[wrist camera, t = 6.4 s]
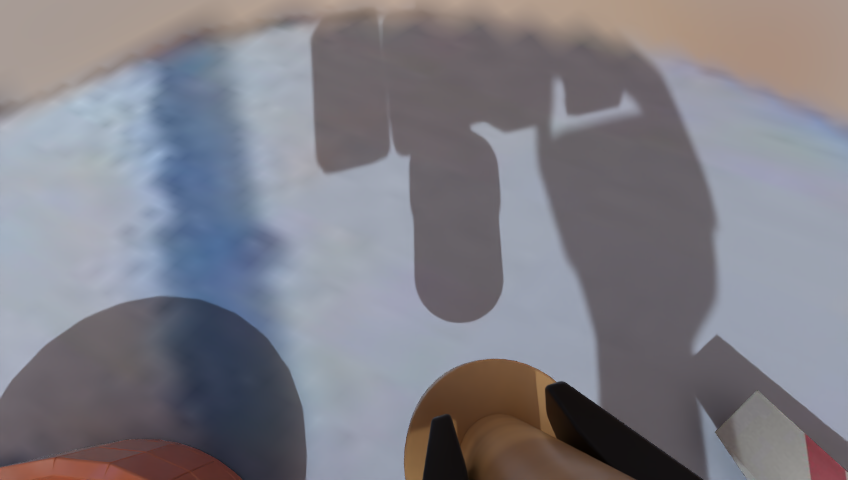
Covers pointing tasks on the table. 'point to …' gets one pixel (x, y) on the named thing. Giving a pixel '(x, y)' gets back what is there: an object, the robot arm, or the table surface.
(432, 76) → the table surface
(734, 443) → the paintbrush
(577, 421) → the robot arm
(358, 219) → the table surface
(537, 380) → the dish brush
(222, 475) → the terracotta bowl
